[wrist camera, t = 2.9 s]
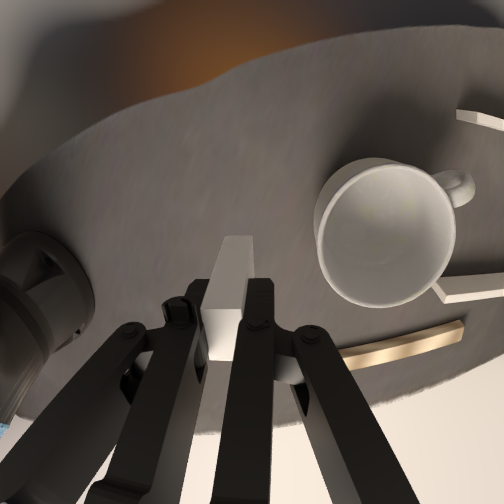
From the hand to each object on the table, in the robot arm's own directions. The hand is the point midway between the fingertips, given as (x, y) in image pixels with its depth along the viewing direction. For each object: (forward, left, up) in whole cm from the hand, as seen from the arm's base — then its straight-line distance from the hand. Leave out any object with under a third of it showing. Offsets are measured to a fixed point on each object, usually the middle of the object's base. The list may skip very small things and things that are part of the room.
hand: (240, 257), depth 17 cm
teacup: (+12, 0, -11) cm, 16 cm away
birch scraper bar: (+15, -18, -10) cm, 26 cm away
